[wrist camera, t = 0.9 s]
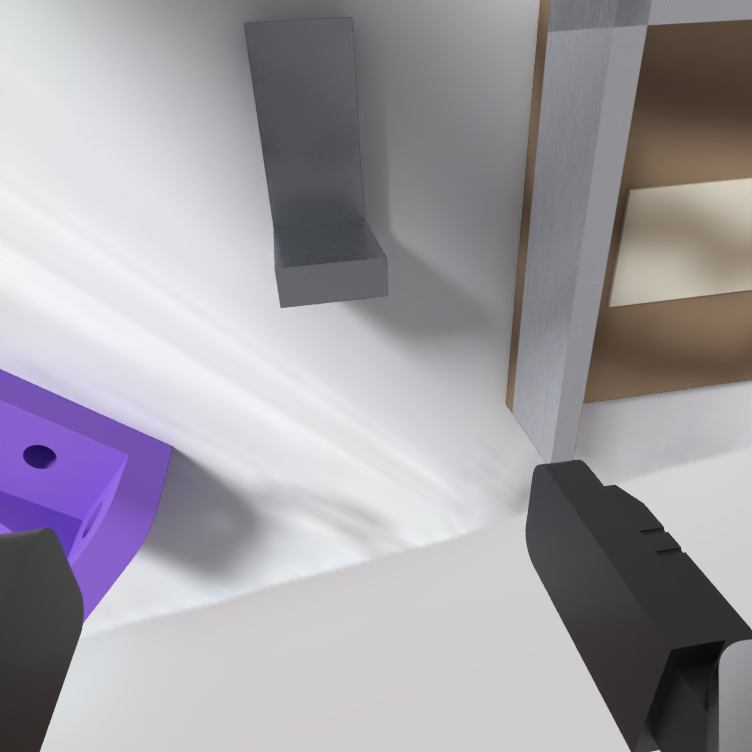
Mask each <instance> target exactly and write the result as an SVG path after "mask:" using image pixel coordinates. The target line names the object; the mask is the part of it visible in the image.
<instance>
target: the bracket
mask: <svg viewBox="0 0 752 752" xmlns="http://www.w3.org/2000/svg"><path fill="white" fill-rule="evenodd" d="M172 448H173V446H171V445H168V444H166V443H164V442H162V441H159V440H157V439H155V438H153V437H151V436H148V435H146V434H144V433H142V432H139V431H137V430H135V429H133V428H130V427H128V426H126V425H124V424H122V423H119V422H117V421H115V420H113V419H110V418H108V417H106V416H104V415H101V414H99V413H97V412H95V411H93V410H90V409H88V408H86V407H84V406H81V405H79V404H77V403H75V402H72V401H70V400H68V399H66V398H64V397H61V396H59V395H57V394H55V393H52V392H50V391H48V390H46V389H43V388H41V387H39V386H37V385H35V384H32V383H30V382H28V381H26V380H23V379H21V378H19V377H17V376H14V375H12V374H10V373H8V372H6V371H3V370H1V369H0V534H5V533H12V532H20V531H28V530H35V529H43V528H50V529H52V530H53V531H54V532H55V533H56V535H57V537H58V539H59V541H60V544H61V546H62V548H63V551H64V553H65V555H66V558H67V560H68V562H69V565H70V567H71V569H72V572H73V574H74V576H75V579H76V581H77V583H78V586H79V588H80V590H81V593H82V597H83V603H84V619H83V623H84V622H85V620H86V619H87V618H88V616H89V615H90V614H91V612H92V611H93V610H94V609H95V607H96V606H97V605H98V603H99V602H100V601H101V599H102V598H103V597H104V596H105V594H106V593H107V592H108V590H109V589H110V588H111V586H112V585H113V584H114V582H115V581H116V580H117V579H118V577H119V576H120V575H121V573H122V572H123V571H124V569H125V568H126V567H127V566H128V564H129V563H130V562H131V560H132V559H133V558H134V556H135V555H136V553H137V552H138V550H139V549H140V547H141V545H142V544H143V542H144V540H145V538H146V536H147V534H148V532H149V530H150V528H151V525H152V523H153V521H154V518H155V515H156V512H157V508H158V505H159V500H160V496H161V492H162V488H163V484H164V480H165V476H166V472H167V468H168V464H169V460H170V456H171V452H172Z"/></svg>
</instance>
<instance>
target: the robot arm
mask: <svg viewBox="0 0 752 752" xmlns="http://www.w3.org/2000/svg"><path fill="white" fill-rule="evenodd" d="M526 543H527V548H528V552H529V556H530V559H531V561H532V564H533V566H534V568H535V569H536V571H537V573H538V575H539V577H540V579H541V581H542V583H543V585H544V587H545V589H546V590H547V592H548V594H549V596H550V598H551V600H552V602H553V604H554V606H555V608H556V610H557V612H558V613H559V615H560V617H561V619H562V621H563V623H564V625H565V627H566V628H567V631H568V632H569V634H570V636H571V638H572V640H573V642H574V644H575V646H576V648H577V650H578V652H579V653H580V655H581V657H582V659H583V661H584V663H585V665H586V667H587V669H588V671H589V672H590V674H591V676H592V678H593V680H594V682H595V684H596V686H597V688H598V690H599V692H600V693H601V695H602V697H603V699H604V701H605V703H606V705H607V707H608V709H609V711H610V713H611V714H612V716H613V718H614V720H615V722H616V724H617V726H618V728H619V730H620V732H621V734H622V735H623V737H624V739H625V741H626V743H627V745H628V747H629V749H630V751H631V752H651V751H656V750H660V751H661V752H752V630H751V628H750V627H749V626H748V625H747V624H746V623H745V621H744V620H743V619H742V618H741V617H740V615H739V614H738V613H737V612H736V611H735V610H734V609H733V607H732V606H731V605H730V604H729V603H728V602H727V600H726V599H725V598H724V597H723V596H722V594H721V593H720V592H719V591H718V590H717V589H716V587H715V586H714V585H713V584H712V583H711V582H710V581H709V579H708V578H707V577H706V576H705V575H704V573H703V572H702V571H701V570H700V569H699V568H698V566H697V565H696V564H695V563H694V562H693V561H692V559H691V558H690V557H689V556H688V555H687V554H686V552H685V553H683V552H682V551H681V547H680V546H679V544H678V543H677V542H676V541H675V540H674V538H672V536H671V535H670V534H669V533H668V532H665V531H664V527H663V526H662V524H661V523H660V522H659V521H658V520H657V519H656V517H655V516H654V515H653V514H652V513H651V512H650V511H649V509H648V508H647V507H646V506H645V505H644V504H643V503H642V502H641V501H639V500H637V499H636V498H634V497H633V496H631V495H630V494H628V493H627V492H625V491H624V490H622V489H621V488H619V487H618V486H616V485H610V486H603V484H602V483H601V482H600V481H599V479H598V478H597V477H596V476H595V474H594V473H593V472H592V471H591V469H590V468H589V467H588V466H587V465H586V463H584V462H583V461H581V460H571V461H564V462H556V463H548V464H541V465H537V466H536V467H535V469H534V472H533V477H532V485H531V492H530V500H529V507H528V515H527V522H526ZM83 619H84V603H83V597H82V593H81V590H80V588H79V586H78V583H77V581H76V579H75V576H74V574H73V572H72V569H71V567H70V565H69V562H68V560H67V558H66V555H65V553H64V551H63V548H62V546H61V544H60V541H59V539H58V537H57V535H56V533H55V532H54V531H53V530H52V529H50V528H43V529H35V530H28V531H20V532H12V533H5V534H0V752H40V749H41V746H42V743H43V741H44V738H45V735H46V732H47V729H48V726H49V723H50V720H51V718H52V715H53V712H54V709H55V706H56V703H57V700H58V697H59V694H60V692H61V689H62V686H63V683H64V680H65V677H66V674H67V671H68V669H69V666H70V662H71V660H72V657H73V654H74V651H75V648H76V646H77V643H78V640H79V637H80V634H81V631H82V626H83Z"/></svg>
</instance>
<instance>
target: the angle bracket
mask: <svg viewBox="0 0 752 752" xmlns="http://www.w3.org/2000/svg"><path fill="white" fill-rule="evenodd" d="M244 28H245V35H246V41H247V48H248V55H249V62H250V69H251V76H252V83H253V89H254V96H255V103H256V110H257V117H258V124H259V131H260V138H261V144H262V151H263V158H264V165H265V172H266V179H267V186H268V192H269V199H270V206H271V213H272V220H273V227H274V259H275V273H276V280H277V287H278V293H279V300H280V307H281V308H286V307H295V306H304V305H312V304H321V303H330V302H339V301H348V300H357V299H366V298H375V297H384V296H388V279H387V257H386V255H385V254H384V252H383V250H382V248H381V247H380V245H379V243H378V241H377V240H376V238H375V236H374V235H373V233H372V231H371V229H370V228H369V226H368V224H367V222H366V221H365V219H364V210H363V194H362V177H361V160H360V144H359V127H358V111H357V94H356V78H355V61H354V45H353V28H352V17H348V18H328V19H309V20H289V21H270V22H250V23H244Z"/></svg>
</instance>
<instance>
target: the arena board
mask: <svg viewBox="0 0 752 752" xmlns="http://www.w3.org/2000/svg"><path fill="white" fill-rule="evenodd" d="M550 3H551V0H540V10H539V21H538V33H537V45H536V57H535V68H534V80H533V92H532V104H531V115H530V127H529V139H528V151H527V162H526V174H525V186H524V198H523V209H522V221H521V233H520V245H519V257H518V268H517V280H516V292H515V304H514V315H513V327H512V339H511V351H510V362H509V374H508V386H507V398H506V405H507V407H508V408H509V410H510V411H511V413H512V411H513V400H514V390H515V379H516V368H517V357H518V347H519V336H520V325H521V314H522V304H523V293H524V282H525V271H526V261H527V250H528V239H529V228H530V218H531V207H532V196H533V186H534V175H535V164H536V153H537V143H538V132H539V121H540V110H541V100H542V89H543V78H544V67H545V57H546V46H547V35H548V24H549V14H550ZM745 380H752V20H749V21H732V22H715V23H697V24H680V25H663V26H647V31H646V37H645V43H644V49H643V55H642V60H641V66H640V72H639V78H638V84H637V90H636V96H635V101H634V107H633V113H632V119H631V125H630V131H629V136H628V142H627V148H626V154H625V160H624V166H623V172H622V177H621V183H620V189H619V195H618V201H617V207H616V213H615V218H614V224H613V230H612V236H611V242H610V248H609V253H608V259H607V265H606V271H605V277H604V283H603V289H602V294H601V300H600V306H599V312H598V318H597V324H596V329H595V335H594V341H593V347H592V353H591V359H590V365H589V370H588V376H587V382H586V388H585V394H584V400H583V404H584V403H591V402H598V401H605V400H612V399H619V398H626V397H633V396H640V395H647V394H654V393H661V392H668V391H675V390H682V389H689V388H696V387H703V386H710V385H717V384H724V383H731V382H738V381H745Z"/></svg>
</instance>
